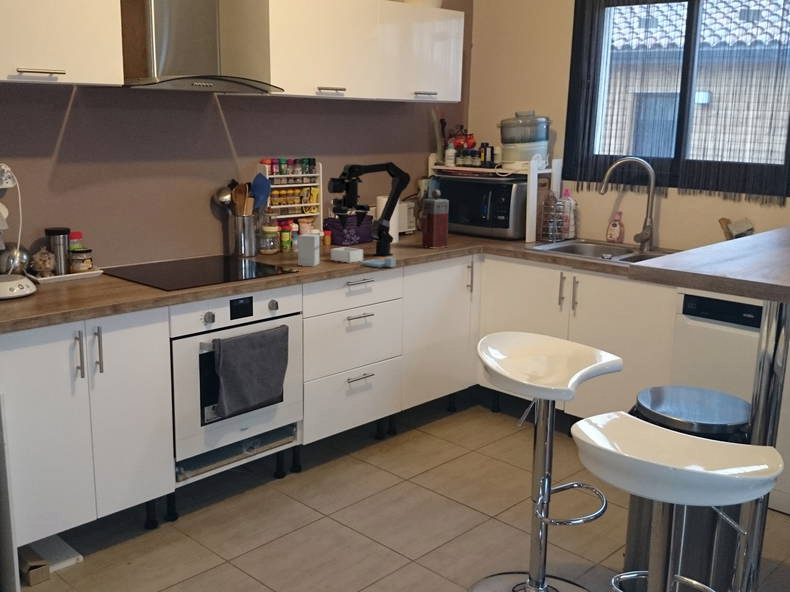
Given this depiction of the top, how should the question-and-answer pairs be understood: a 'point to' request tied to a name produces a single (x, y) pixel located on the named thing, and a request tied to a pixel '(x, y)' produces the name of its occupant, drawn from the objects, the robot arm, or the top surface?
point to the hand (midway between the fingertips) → (351, 228)
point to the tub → (347, 254)
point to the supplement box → (308, 249)
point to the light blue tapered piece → (380, 262)
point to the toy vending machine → (435, 221)
